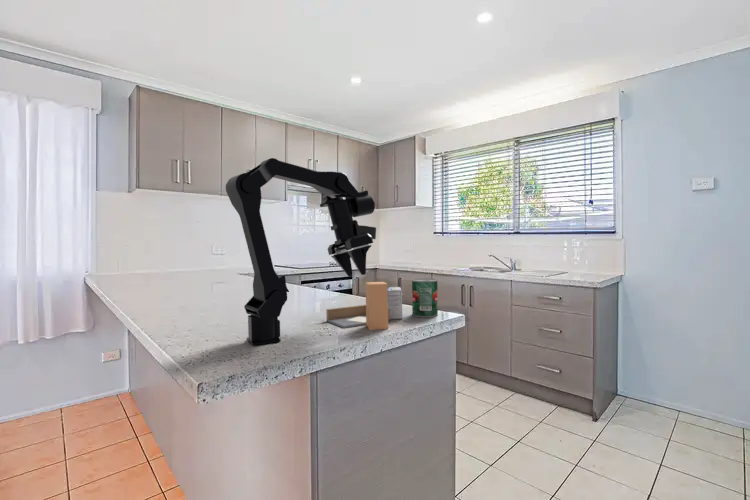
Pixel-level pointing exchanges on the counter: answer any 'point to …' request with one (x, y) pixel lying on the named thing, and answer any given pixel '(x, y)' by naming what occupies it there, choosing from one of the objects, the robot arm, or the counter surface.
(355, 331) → the counter surface
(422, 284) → the canned tomato
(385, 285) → the terracotta block
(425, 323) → the counter surface
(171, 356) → the counter surface
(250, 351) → the counter surface
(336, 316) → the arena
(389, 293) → the medicine box
